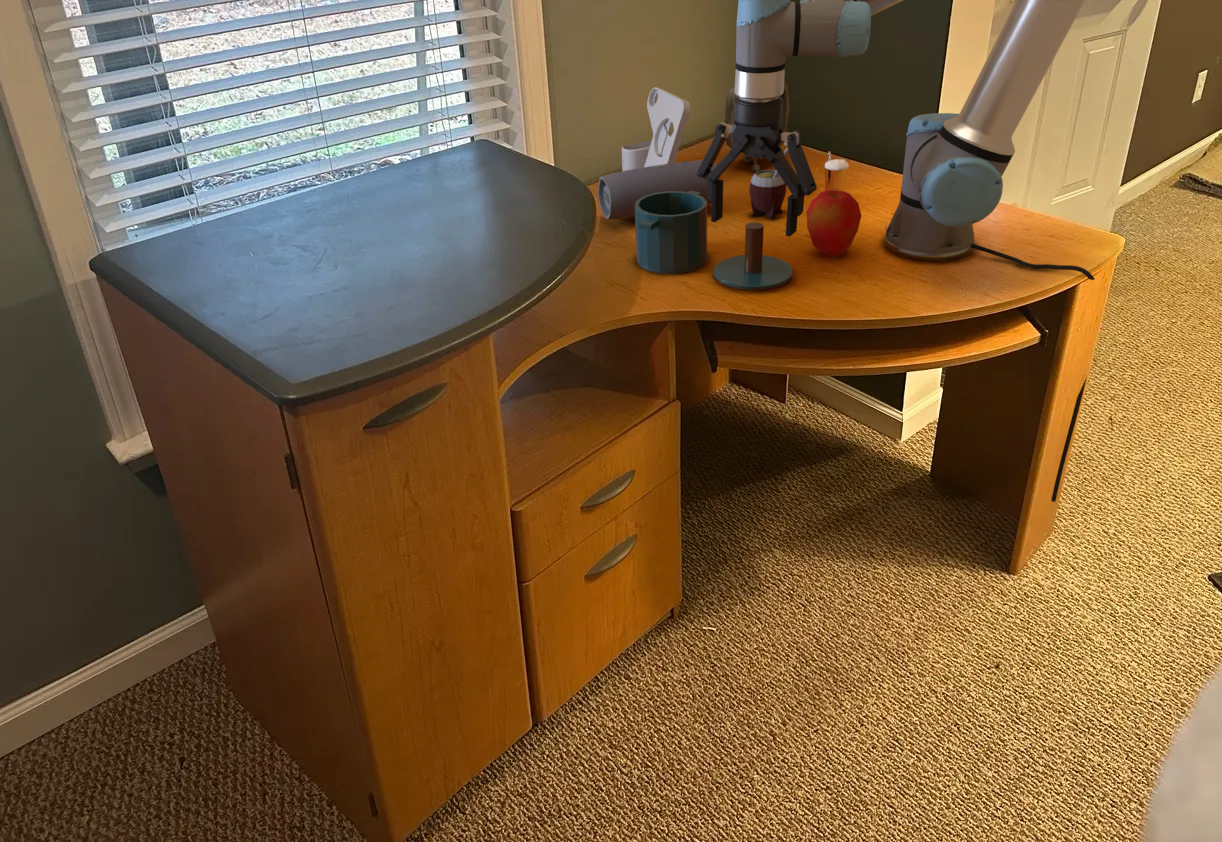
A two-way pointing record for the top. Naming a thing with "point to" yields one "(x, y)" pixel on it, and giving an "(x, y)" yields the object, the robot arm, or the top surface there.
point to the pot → (671, 231)
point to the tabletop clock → (730, 119)
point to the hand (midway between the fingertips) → (753, 226)
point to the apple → (833, 221)
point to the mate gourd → (767, 192)
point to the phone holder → (659, 132)
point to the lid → (753, 265)
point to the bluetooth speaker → (647, 186)
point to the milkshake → (835, 174)
